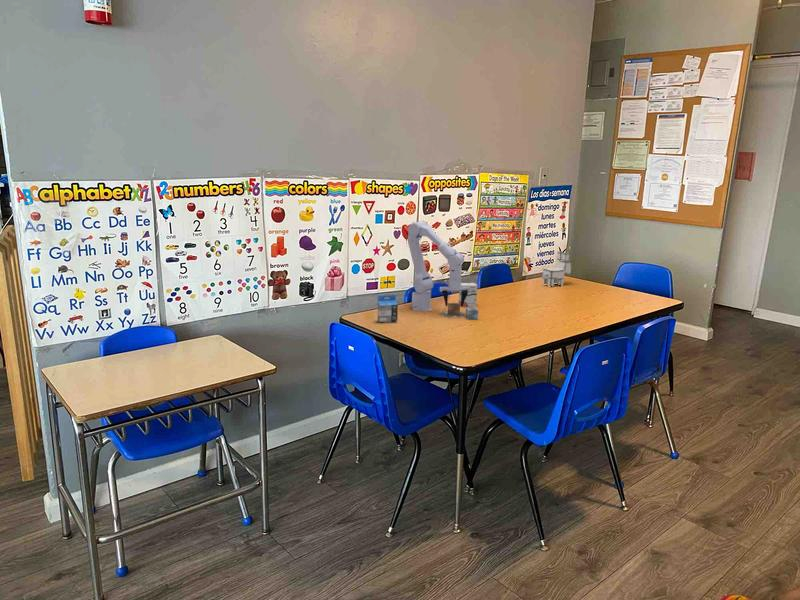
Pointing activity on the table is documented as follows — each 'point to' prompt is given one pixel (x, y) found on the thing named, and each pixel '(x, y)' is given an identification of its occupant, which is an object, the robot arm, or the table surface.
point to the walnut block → (453, 309)
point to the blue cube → (471, 313)
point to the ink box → (469, 295)
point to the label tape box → (387, 308)
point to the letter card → (453, 316)
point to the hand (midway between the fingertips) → (454, 305)
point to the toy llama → (557, 270)
